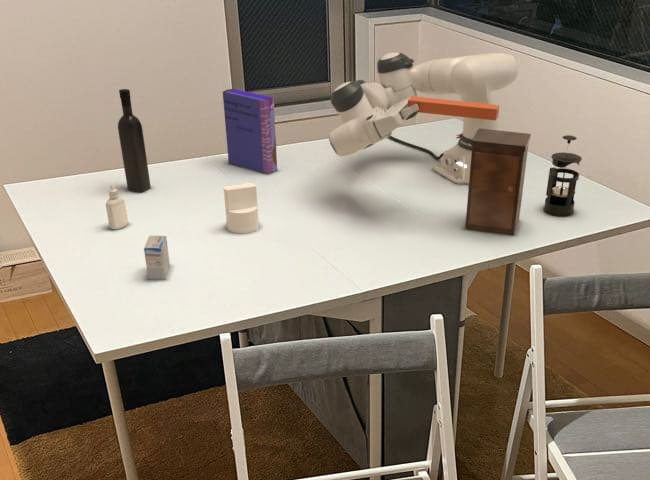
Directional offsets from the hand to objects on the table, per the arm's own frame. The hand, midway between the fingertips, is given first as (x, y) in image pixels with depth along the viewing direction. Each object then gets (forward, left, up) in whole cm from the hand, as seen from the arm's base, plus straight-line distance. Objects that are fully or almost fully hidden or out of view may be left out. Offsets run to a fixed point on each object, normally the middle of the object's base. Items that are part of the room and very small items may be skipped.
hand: (420, 103), depth 229 cm
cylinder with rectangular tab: (-23, -46, -33) cm, 61 cm away
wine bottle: (-68, -56, -33) cm, 94 cm away
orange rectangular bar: (+8, +5, -2) cm, 9 cm away
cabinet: (+19, +14, -33) cm, 40 cm away
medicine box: (-10, -79, -33) cm, 87 cm away
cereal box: (-65, -16, -33) cm, 75 cm away
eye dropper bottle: (-44, -74, -33) cm, 92 cm away
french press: (+23, +39, -33) cm, 56 cm away
